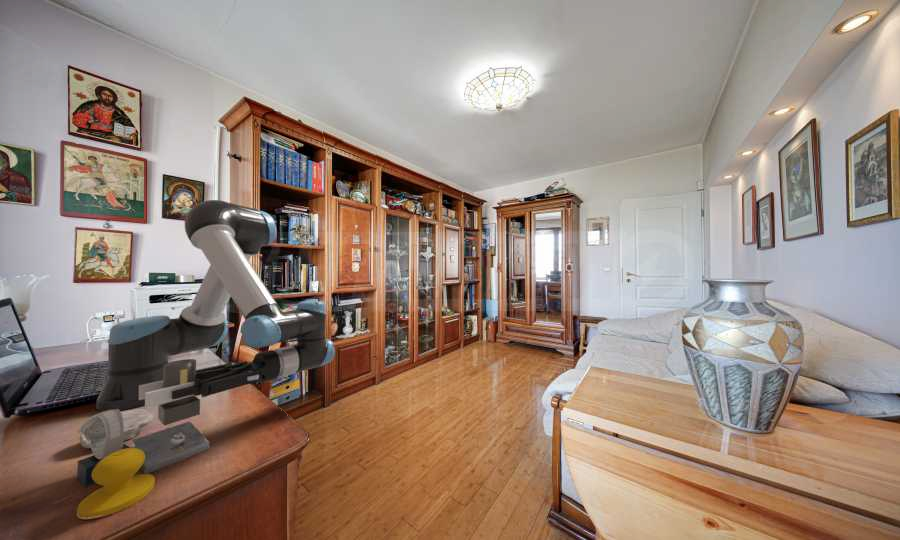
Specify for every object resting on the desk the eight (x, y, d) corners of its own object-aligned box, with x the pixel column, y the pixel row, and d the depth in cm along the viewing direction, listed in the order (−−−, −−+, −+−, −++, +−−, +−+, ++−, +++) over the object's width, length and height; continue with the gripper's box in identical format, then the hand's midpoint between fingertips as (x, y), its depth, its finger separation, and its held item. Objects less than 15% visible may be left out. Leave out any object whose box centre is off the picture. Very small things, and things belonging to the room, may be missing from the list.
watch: (119, 456, 54) (121, 401, 54) (136, 469, 51) (138, 410, 51) (72, 475, 49) (74, 414, 49) (88, 490, 46) (90, 425, 46)
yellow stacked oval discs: (123, 516, 41) (57, 524, 40) (167, 477, 49) (113, 483, 47) (125, 466, 41) (59, 472, 40) (168, 435, 49) (115, 440, 48)
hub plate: (131, 447, 57) (132, 429, 57) (189, 427, 65) (189, 411, 65) (145, 474, 49) (146, 454, 49) (209, 448, 57) (209, 431, 57)
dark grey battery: (158, 418, 55) (159, 363, 56) (192, 407, 60) (193, 357, 60) (164, 426, 52) (165, 368, 52) (200, 414, 56) (201, 361, 57)
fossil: (162, 416, 64) (103, 419, 55) (145, 448, 62) (80, 456, 53) (143, 406, 67) (84, 408, 59) (126, 436, 65) (62, 442, 56)
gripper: (292, 386, 66) (152, 431, 46) (259, 371, 76) (133, 403, 57) (293, 355, 66) (153, 387, 47) (260, 344, 76) (134, 367, 57)
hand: (142, 396), depth 52 cm, fingers closed on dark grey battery, 5 cm apart
